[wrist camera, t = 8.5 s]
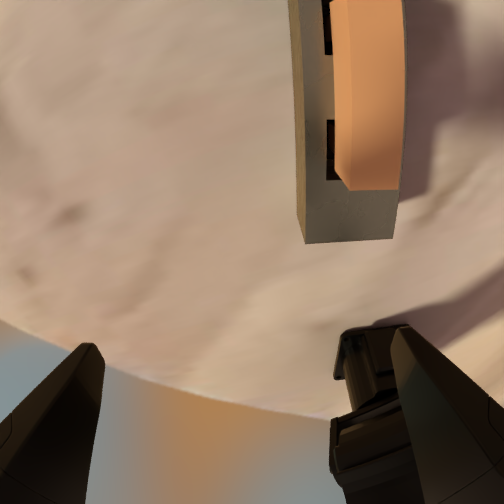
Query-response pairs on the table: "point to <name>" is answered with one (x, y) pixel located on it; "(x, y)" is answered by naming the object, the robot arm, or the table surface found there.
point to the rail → (315, 143)
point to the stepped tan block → (367, 91)
